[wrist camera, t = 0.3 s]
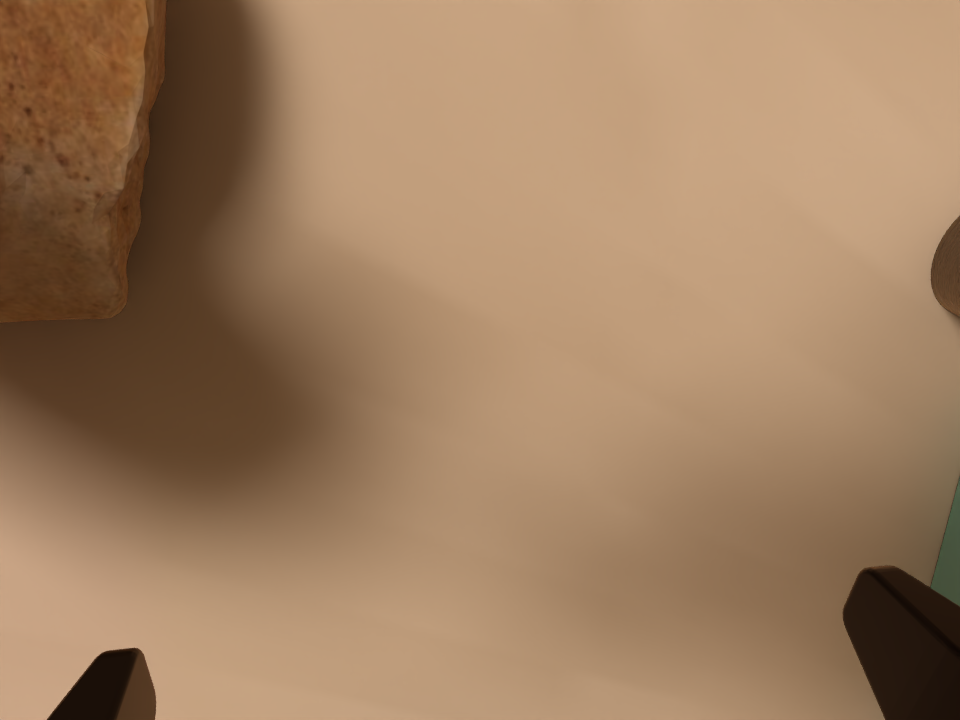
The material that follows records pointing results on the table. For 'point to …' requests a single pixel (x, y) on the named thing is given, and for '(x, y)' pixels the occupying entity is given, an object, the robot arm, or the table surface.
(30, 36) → the tan boot
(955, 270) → the metal peg
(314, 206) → the table surface
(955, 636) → the robot arm
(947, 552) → the jig
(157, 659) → the table surface
